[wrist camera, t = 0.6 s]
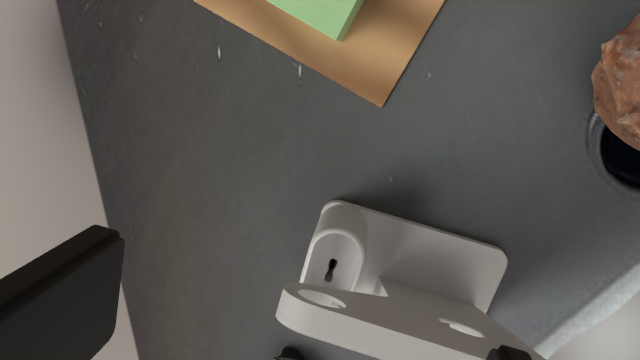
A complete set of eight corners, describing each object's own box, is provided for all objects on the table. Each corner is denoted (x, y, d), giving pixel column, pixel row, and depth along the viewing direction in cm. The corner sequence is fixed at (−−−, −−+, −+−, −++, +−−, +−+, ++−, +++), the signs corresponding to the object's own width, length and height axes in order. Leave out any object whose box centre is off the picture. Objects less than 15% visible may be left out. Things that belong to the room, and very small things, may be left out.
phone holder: (296, 286, 42) (237, 445, 25) (323, 192, 39) (275, 300, 22) (470, 340, 41) (532, 544, 24) (511, 248, 38) (616, 407, 21)
